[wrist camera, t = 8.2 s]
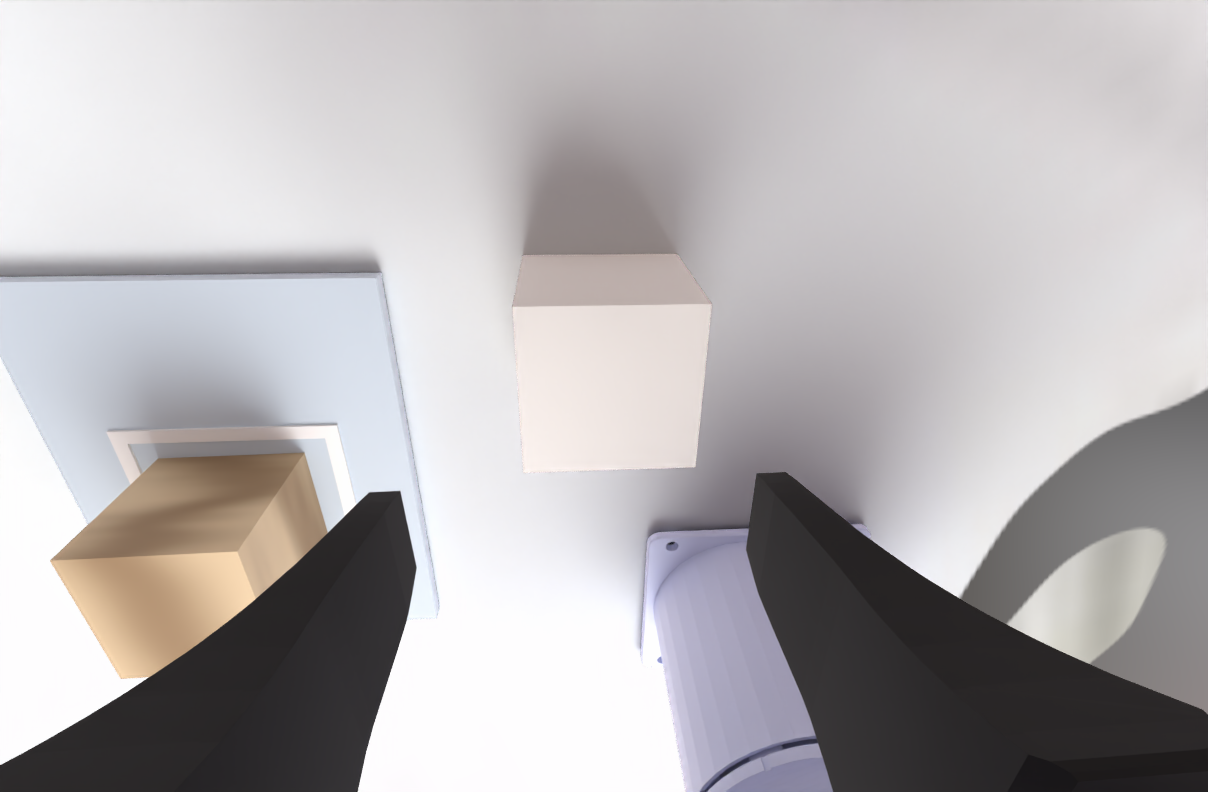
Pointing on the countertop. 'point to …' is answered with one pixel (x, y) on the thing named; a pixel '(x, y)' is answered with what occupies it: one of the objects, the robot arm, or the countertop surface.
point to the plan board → (217, 382)
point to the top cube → (609, 361)
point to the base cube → (188, 552)
